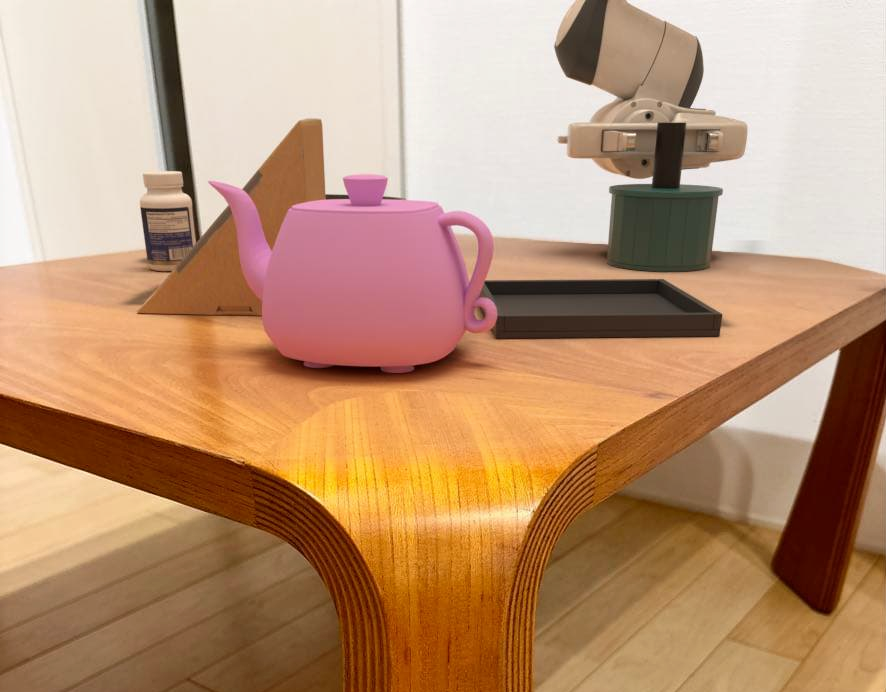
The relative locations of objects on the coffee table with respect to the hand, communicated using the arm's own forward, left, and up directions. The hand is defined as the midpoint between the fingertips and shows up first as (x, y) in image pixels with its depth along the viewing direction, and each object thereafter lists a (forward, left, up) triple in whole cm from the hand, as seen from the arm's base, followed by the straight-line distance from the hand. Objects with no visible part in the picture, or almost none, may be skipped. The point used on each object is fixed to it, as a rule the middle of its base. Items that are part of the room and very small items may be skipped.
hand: (672, 141), depth 97 cm
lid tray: (+14, +28, -13) cm, 34 cm away
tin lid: (0, -1, -5) cm, 5 cm away
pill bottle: (+54, 0, -13) cm, 56 cm away
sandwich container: (+44, +22, -13) cm, 51 cm away
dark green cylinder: (0, -1, -13) cm, 13 cm away
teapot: (+33, +41, -13) cm, 54 cm away
